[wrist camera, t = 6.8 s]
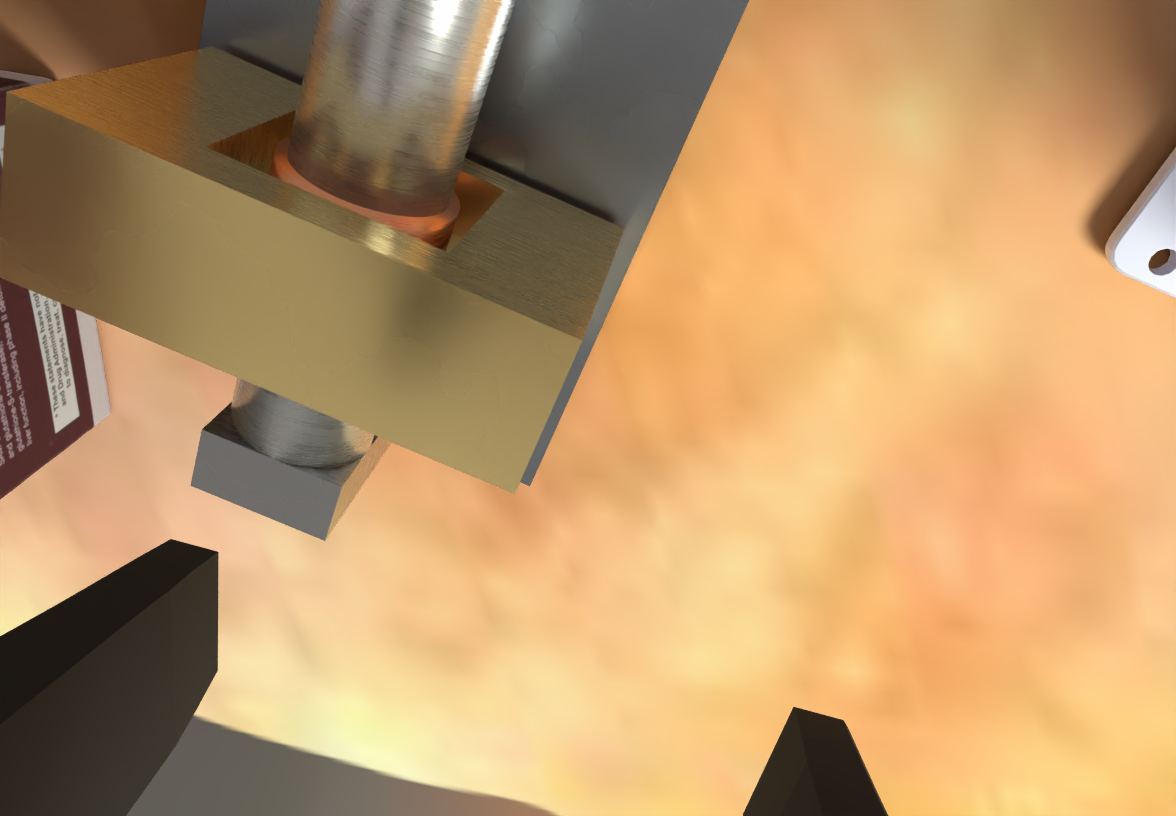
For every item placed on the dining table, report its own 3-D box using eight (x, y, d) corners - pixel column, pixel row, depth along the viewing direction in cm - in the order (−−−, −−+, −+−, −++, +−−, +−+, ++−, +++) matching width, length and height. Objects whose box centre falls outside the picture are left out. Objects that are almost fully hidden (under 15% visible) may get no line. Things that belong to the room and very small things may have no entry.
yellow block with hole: (211, 46, 17) (6, 91, 12) (624, 228, 18) (582, 340, 13) (188, 186, 19) (-4, 276, 14) (570, 351, 19) (514, 494, 14)
